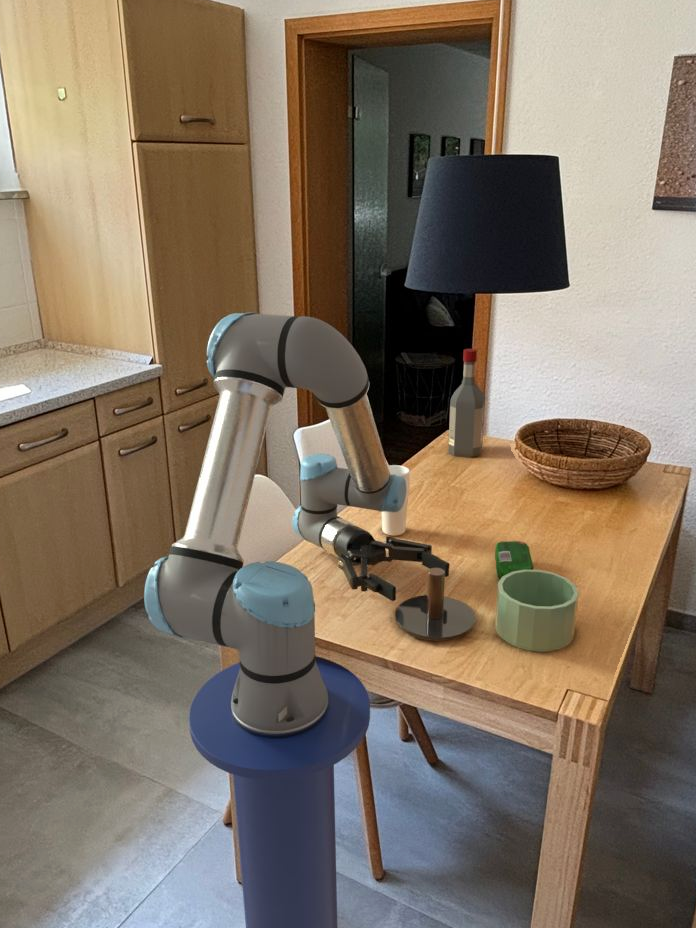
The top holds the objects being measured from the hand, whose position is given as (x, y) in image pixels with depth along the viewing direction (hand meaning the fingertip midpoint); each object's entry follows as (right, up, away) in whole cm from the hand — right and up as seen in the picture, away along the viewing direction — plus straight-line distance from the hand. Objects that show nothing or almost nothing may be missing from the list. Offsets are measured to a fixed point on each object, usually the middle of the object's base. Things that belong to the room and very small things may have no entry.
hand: (421, 581), depth 141 cm
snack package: (+20, -1, +15) cm, 25 cm away
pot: (+20, -8, -3) cm, 22 cm away
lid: (+2, -6, -1) cm, 7 cm away
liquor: (+20, +27, +84) cm, 90 cm away
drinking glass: (-3, +7, +35) cm, 35 cm away
